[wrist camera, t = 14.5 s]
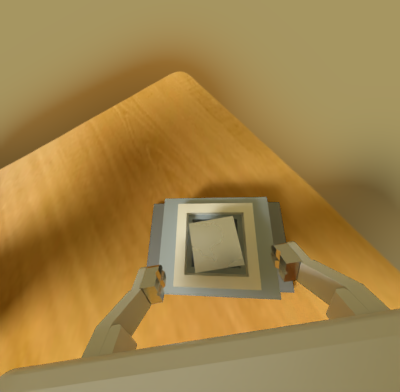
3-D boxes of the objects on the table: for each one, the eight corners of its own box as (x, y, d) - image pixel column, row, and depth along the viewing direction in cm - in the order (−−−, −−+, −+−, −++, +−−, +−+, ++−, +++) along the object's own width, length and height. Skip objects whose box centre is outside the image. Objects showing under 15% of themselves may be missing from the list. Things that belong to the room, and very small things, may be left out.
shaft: (204, 257, 20) (195, 272, 10) (201, 232, 22) (188, 223, 11) (229, 253, 20) (244, 264, 10) (223, 228, 21) (232, 215, 11)
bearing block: (147, 284, 21) (117, 303, 14) (156, 205, 25) (135, 191, 18) (290, 290, 19) (330, 315, 12) (276, 203, 23) (301, 188, 16)
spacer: (176, 283, 14) (173, 286, 13) (180, 206, 17) (178, 203, 16) (257, 286, 14) (261, 290, 13) (249, 205, 16) (252, 202, 15)
